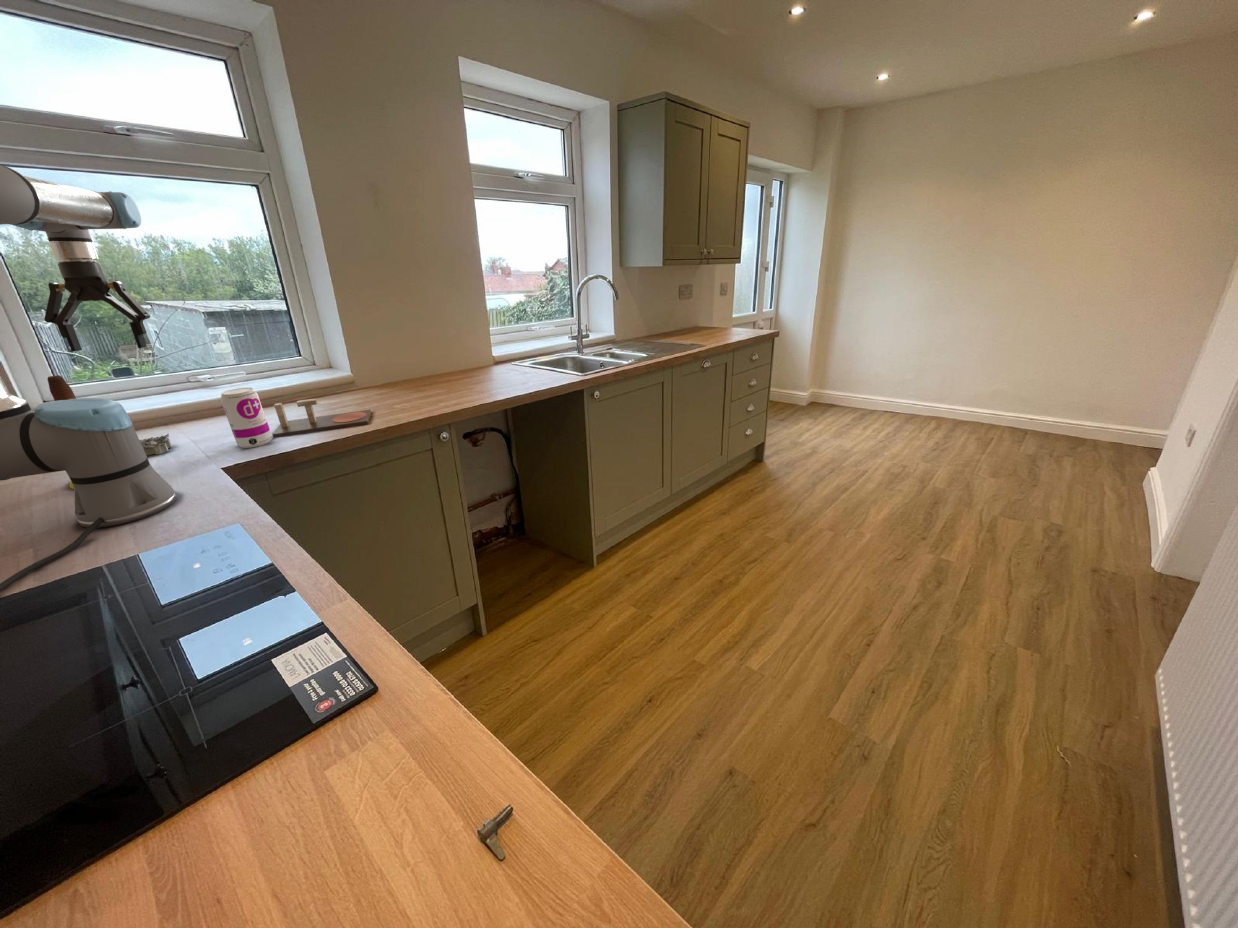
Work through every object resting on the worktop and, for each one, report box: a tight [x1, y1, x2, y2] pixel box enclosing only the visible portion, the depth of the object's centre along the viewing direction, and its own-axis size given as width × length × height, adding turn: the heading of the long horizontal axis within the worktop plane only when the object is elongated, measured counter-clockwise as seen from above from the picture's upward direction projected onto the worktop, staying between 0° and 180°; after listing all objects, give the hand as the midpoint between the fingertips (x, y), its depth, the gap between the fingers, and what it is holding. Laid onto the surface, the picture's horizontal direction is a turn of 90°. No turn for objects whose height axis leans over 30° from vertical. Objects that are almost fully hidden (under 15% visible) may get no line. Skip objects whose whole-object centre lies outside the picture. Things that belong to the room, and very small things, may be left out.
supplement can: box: [219, 387, 273, 449], centre depth 137 cm, size 8×8×15 cm
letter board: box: [271, 398, 372, 438], centre depth 152 cm, size 13×25×8 cm, turn 111°
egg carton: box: [139, 433, 173, 457], centre depth 136 cm, size 11×8×4 cm
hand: (110, 349), depth 130 cm, fingers open, 13 cm apart
